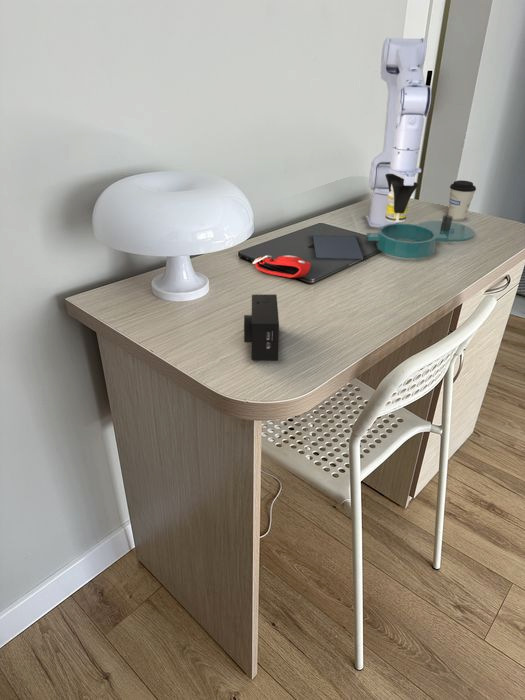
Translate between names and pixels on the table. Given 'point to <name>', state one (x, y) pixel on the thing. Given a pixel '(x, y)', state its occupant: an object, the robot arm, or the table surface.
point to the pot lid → (449, 229)
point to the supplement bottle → (390, 213)
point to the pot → (403, 248)
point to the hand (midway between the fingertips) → (396, 209)
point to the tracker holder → (287, 261)
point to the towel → (337, 247)
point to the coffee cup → (460, 198)
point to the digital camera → (263, 327)
